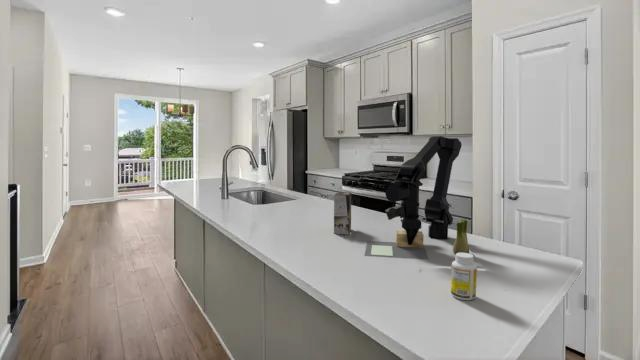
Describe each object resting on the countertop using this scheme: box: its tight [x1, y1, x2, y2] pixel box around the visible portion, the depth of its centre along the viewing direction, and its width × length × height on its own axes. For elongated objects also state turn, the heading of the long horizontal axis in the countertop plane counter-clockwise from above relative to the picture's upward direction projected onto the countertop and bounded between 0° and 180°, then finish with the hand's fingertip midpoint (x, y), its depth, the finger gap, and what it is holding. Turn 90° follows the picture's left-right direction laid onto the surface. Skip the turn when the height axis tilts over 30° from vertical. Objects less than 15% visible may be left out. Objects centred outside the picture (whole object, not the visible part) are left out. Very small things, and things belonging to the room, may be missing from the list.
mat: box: [363, 240, 429, 260], centre depth 121 cm, size 20×18×1 cm
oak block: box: [395, 229, 424, 248], centre depth 125 cm, size 9×6×4 cm, turn 80°
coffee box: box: [333, 191, 352, 235], centre depth 147 cm, size 9×6×16 cm
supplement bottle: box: [450, 252, 478, 301], centre depth 84 cm, size 6×6×10 cm
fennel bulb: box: [452, 219, 470, 256], centre depth 115 cm, size 6×5×12 cm
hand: (409, 242), depth 125 cm, fingers closed on oak block, 5 cm apart
